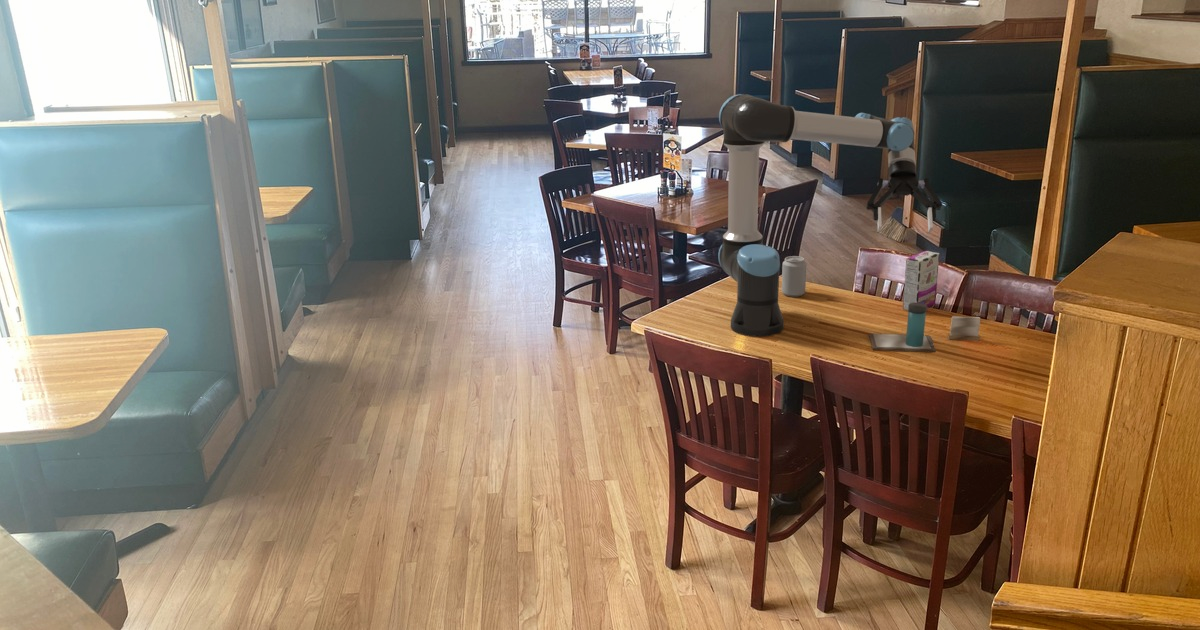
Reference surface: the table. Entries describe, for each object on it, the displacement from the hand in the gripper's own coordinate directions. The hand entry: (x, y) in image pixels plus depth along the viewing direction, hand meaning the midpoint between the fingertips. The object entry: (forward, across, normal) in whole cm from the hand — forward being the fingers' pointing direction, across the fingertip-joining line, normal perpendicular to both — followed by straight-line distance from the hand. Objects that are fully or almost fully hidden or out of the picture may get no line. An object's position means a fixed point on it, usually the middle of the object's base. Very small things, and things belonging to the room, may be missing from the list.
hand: (905, 229), depth 243 cm
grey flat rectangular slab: (+31, +1, -8) cm, 32 cm away
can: (+2, +29, -37) cm, 47 cm away
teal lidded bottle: (+32, -2, -6) cm, 33 cm away
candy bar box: (+10, -8, -30) cm, 32 cm away
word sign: (+28, -16, -11) cm, 34 cm away
